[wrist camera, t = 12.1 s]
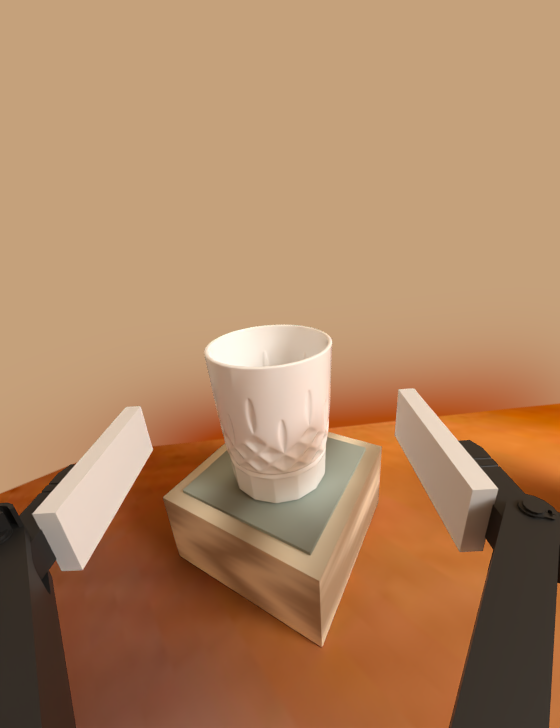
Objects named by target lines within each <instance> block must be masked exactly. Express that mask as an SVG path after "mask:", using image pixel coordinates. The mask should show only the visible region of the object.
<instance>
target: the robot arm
mask: <svg viewBox="0 0 560 728" xmlns="http://www.w3.org/2000/svg"><path fill="white" fill-rule="evenodd" d="M395 436H396V438H397V440H398V442H399V444H400V445H401V447H402V449H403V451H404V453H405V454H406V456H407V458H408V460H409V462H410V463H411V465H412V467H413V469H414V471H415V472H416V474H417V476H418V478H419V480H420V481H421V483H422V485H423V487H424V489H425V490H426V492H427V494H428V496H429V498H430V499H431V501H432V503H433V505H434V507H435V508H436V510H437V512H438V514H439V516H440V517H441V519H442V521H443V523H444V525H445V526H446V528H447V530H448V532H449V534H450V535H451V537H452V539H453V541H454V543H455V544H456V546H457V548H458V550H459V552H468V551H483V547H484V543H485V539H487V541H488V542H489V544H490V545H491V547H492V548H493V553H492V557H491V560H490V564H489V568H488V573H487V577H486V581H485V585H484V589H483V593H482V597H481V601H480V605H479V609H478V613H477V617H476V621H475V625H474V629H473V633H472V637H471V641H470V645H469V649H468V653H467V657H466V661H465V665H464V669H463V673H462V677H461V681H460V685H459V689H458V693H457V697H456V701H455V705H454V709H453V713H452V717H451V721H450V725H449V728H549V718H550V700H551V683H552V666H553V648H554V631H555V613H556V596H557V583H560V513H559V512H557V511H556V510H555V509H554V507H552V506H551V505H550V504H548V503H547V502H546V501H544V500H542V499H540V498H537V497H535V496H532V495H528V494H525V493H524V492H523V491H522V490H521V489H520V488H519V487H518V486H517V485H516V484H515V483H514V481H513V480H512V479H511V478H510V477H509V476H508V475H507V474H506V473H505V472H504V471H503V470H502V469H501V467H498V464H497V463H496V462H495V461H494V460H493V459H491V457H490V456H489V454H488V453H487V452H486V451H485V450H484V449H483V448H482V447H480V446H479V445H477V444H475V443H474V442H472V441H470V440H464V441H458V440H457V439H456V438H455V437H454V435H453V434H452V433H451V432H450V431H449V430H448V428H447V427H446V426H445V425H444V424H443V422H442V421H441V420H440V419H439V418H438V416H437V415H436V414H435V413H434V412H433V411H432V409H431V408H430V407H429V406H428V405H427V403H426V402H425V401H424V400H423V399H422V397H421V396H420V395H419V394H418V393H417V392H416V390H415V389H399V390H398V402H397V414H396V427H395ZM152 451H153V448H152V444H151V441H150V437H149V434H148V430H147V427H146V423H145V420H144V417H143V413H142V410H141V407H140V406H137V407H126V408H125V409H124V410H123V411H122V412H121V413H120V415H119V416H118V417H117V418H116V419H115V420H114V421H113V423H112V424H111V425H110V426H109V427H108V428H107V429H106V431H105V432H104V433H103V434H102V435H101V436H100V437H99V439H98V440H97V441H96V442H95V443H94V444H93V445H92V447H91V448H90V449H89V450H88V451H87V452H86V453H85V454H84V456H83V457H82V458H81V459H80V460H79V461H78V462H77V463H76V464H73V465H69V466H68V467H67V468H65V469H64V470H62V471H61V472H59V473H58V474H57V475H56V476H55V477H54V479H53V480H52V481H51V482H50V483H49V485H47V486H46V487H45V488H44V489H43V490H42V493H40V494H39V495H38V496H37V497H36V498H35V499H34V500H33V501H32V502H31V504H30V505H29V506H28V507H27V508H26V509H25V510H24V511H23V512H22V513H21V514H20V516H19V515H18V513H17V512H16V510H15V508H14V506H13V504H10V503H0V728H76V724H75V718H74V712H73V706H72V699H71V693H70V687H69V681H68V674H67V668H66V662H65V655H64V649H63V643H62V637H61V630H60V624H59V618H58V612H57V605H56V599H55V593H54V587H53V580H52V576H51V574H50V572H49V569H50V568H51V566H52V565H53V563H54V562H55V560H56V561H57V563H58V565H59V567H60V569H61V571H73V570H83V569H84V567H85V565H86V564H87V562H88V560H89V559H90V557H91V555H92V553H93V552H94V550H95V548H96V547H97V545H98V543H99V542H100V540H101V538H102V536H103V535H104V533H105V531H106V530H107V528H108V526H109V524H110V523H111V521H112V519H113V518H114V516H115V514H116V512H117V511H118V509H119V507H120V506H121V504H122V502H123V500H124V499H125V497H126V495H127V494H128V492H129V490H130V488H131V487H132V485H133V483H134V482H135V480H136V478H137V476H138V475H139V473H140V471H141V470H142V468H143V466H144V464H145V463H146V461H147V459H148V458H149V456H150V454H151V452H152Z"/></svg>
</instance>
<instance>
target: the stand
mask: <svg viewBox="0 0 560 728" xmlns="http://www.w3.org/2000/svg"><path fill="white" fill-rule="evenodd" d="M381 450H382V447H381V446H378V445H374V444H370V443H367V442H363V441H359V440H356V439H352V438H348V437H345V436H341V435H337V434H333V433H330V432H328V437H327V441H326V456H325V474H324V476H323V478H322V479H321V481H320V483H319V484H318V486H317V488H316V489H314V490H313V491H311V492H310V493H308V494H306V495H305V496H303V497H302V498H300V499H298V500H293V501H287V502H281V503H271V502H266V501H260V500H255V499H253V498H252V497H251V496H249V495H248V494H246V493H245V492H244V491H242V490H241V489H240V488H239V486H238V483H237V481H236V478H235V475H234V472H233V468H232V463H231V458H230V455H229V453H228V451H227V448H226V444H224V445H222V446H221V447H220V448H219V449H218V450H217V451H216V452H214V453H213V454H212V455H211V456H210V457H209V458H208V459H206V460H205V461H204V462H203V463H202V464H201V465H199V466H198V467H197V468H196V469H195V470H194V471H193V472H191V473H190V474H189V475H188V476H187V477H186V478H185V479H183V480H182V481H181V482H180V483H179V484H178V485H176V486H175V487H174V488H173V489H172V490H171V491H170V492H168V493H167V494H166V495H165V496H164V497H163V500H164V504H165V507H166V511H167V514H168V518H169V521H170V524H171V528H172V531H173V535H174V538H175V542H176V545H177V548H178V552H179V555H180V556H181V557H182V558H184V559H186V560H187V561H189V562H190V563H192V564H193V565H195V566H196V567H198V568H200V569H201V570H203V571H204V572H206V573H207V574H209V575H210V576H212V577H213V578H215V579H217V580H218V581H220V582H221V583H223V584H224V585H226V586H227V587H229V588H230V589H232V590H234V591H235V592H237V593H238V594H240V595H241V596H243V597H244V598H246V599H248V600H249V601H251V602H252V603H254V604H255V605H257V606H258V607H260V608H261V609H263V610H265V611H266V612H268V613H269V614H271V615H272V616H274V617H275V618H277V619H279V620H280V621H282V622H283V623H285V624H286V625H288V626H289V627H291V628H292V629H294V630H296V631H297V632H299V633H300V634H302V635H303V636H305V637H306V638H308V639H310V640H311V641H313V642H314V643H316V644H317V645H319V646H320V647H322V646H323V644H324V641H325V638H326V636H327V633H328V631H329V628H330V625H331V623H332V620H333V618H334V615H335V612H336V610H337V607H338V605H339V602H340V600H341V597H342V594H343V592H344V589H345V587H346V584H347V581H348V579H349V576H350V574H351V571H352V569H353V566H354V563H355V561H356V558H357V556H358V553H359V550H360V548H361V545H362V543H363V540H364V537H365V535H366V532H367V530H368V527H369V525H370V522H371V519H372V517H373V514H374V512H375V509H376V506H377V504H378V497H379V481H380V466H381Z"/></svg>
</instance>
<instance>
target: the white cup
mask: <svg viewBox="0 0 560 728" xmlns="http://www.w3.org/2000/svg"><path fill="white" fill-rule="evenodd" d="M331 354H332V340H331V338H330V336H329V335H328V334H326V333H325V332H323V331H320V330H318V329H315V328H311V327H306V326H299V325H266V326H257V327H251V328H246V329H241V330H237V331H234V332H230V333H227V334H225V335H222V336H220V337H218V338H216V339H214V340H213V341H211V342H210V343H209V344H208V345H207V346H206V348H205V350H204V355H205V360H206V364H207V368H208V373H209V377H210V381H211V386H212V390H213V395H214V399H215V404H216V408H217V413H218V417H219V419H220V423H221V428H222V432H223V436H224V439H225V444H226V448H227V451H228V453H229V455H230V458H231V463H232V468H233V472H234V475H235V478H236V481H237V483H238V486H239V488H240V489H241V490H242V491H244V492H245V493H246V494H248V495H249V496H251V497H252V498H253V499H255V500H260V501H266V502H271V503H281V502H287V501H293V500H298V499H300V498H302V497H303V496H305V495H306V494H308V493H310V492H311V491H313V490H314V489H316V488H317V486H318V484H319V483H320V481H321V479H322V478H323V476H324V474H325V456H326V441H327V437H328V425H329V408H330V385H331V384H330V383H331Z"/></svg>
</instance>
